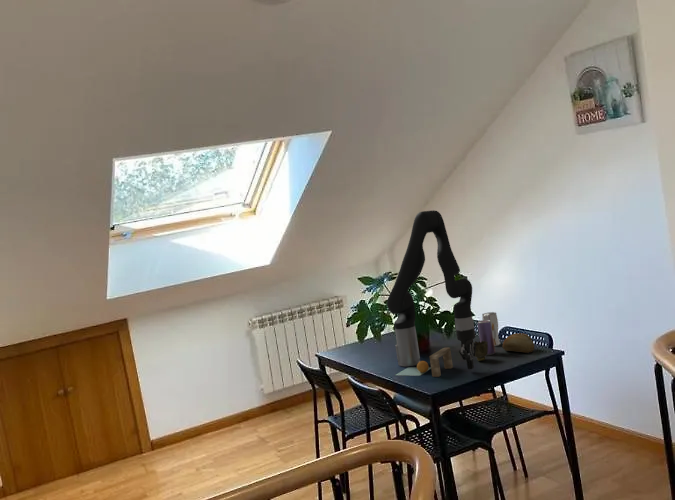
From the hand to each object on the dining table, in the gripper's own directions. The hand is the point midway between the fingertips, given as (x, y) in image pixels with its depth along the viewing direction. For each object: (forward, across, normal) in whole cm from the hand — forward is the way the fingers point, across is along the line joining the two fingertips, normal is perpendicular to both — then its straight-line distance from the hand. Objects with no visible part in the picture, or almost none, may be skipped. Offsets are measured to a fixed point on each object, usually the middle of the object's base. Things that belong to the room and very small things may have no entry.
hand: (470, 368), depth 301 cm
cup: (+2, -18, -3) cm, 18 cm away
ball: (-1, +1, -22) cm, 22 cm away
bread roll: (+2, -33, +9) cm, 34 cm away
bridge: (+2, 0, -13) cm, 13 cm away
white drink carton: (+2, -45, -8) cm, 46 cm away
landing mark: (+2, 0, -27) cm, 27 cm away
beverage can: (+2, -29, -4) cm, 29 cm away
